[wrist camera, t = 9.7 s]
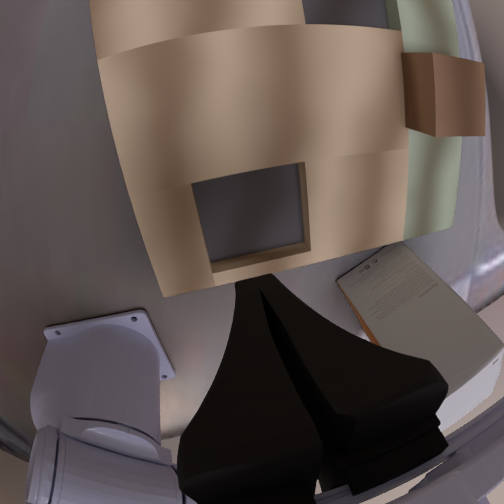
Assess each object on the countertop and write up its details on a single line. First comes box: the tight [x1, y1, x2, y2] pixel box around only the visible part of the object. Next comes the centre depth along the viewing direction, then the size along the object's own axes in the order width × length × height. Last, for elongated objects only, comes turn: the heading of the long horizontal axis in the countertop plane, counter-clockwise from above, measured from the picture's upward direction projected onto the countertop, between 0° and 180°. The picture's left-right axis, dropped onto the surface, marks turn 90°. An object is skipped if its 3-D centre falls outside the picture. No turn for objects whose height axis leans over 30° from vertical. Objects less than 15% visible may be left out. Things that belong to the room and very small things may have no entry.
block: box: [401, 52, 485, 137], centre depth 15 cm, size 5×5×3 cm
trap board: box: [89, 0, 462, 298], centre depth 16 cm, size 23×22×2 cm
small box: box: [337, 241, 504, 432], centre depth 20 cm, size 8×6×13 cm
